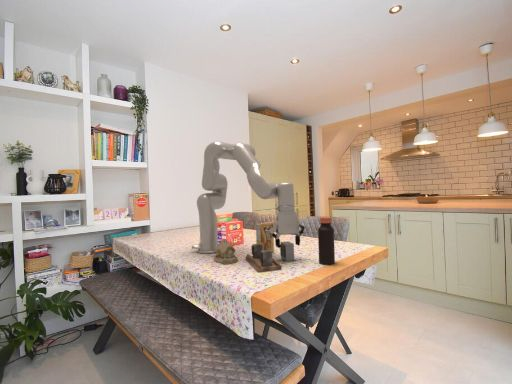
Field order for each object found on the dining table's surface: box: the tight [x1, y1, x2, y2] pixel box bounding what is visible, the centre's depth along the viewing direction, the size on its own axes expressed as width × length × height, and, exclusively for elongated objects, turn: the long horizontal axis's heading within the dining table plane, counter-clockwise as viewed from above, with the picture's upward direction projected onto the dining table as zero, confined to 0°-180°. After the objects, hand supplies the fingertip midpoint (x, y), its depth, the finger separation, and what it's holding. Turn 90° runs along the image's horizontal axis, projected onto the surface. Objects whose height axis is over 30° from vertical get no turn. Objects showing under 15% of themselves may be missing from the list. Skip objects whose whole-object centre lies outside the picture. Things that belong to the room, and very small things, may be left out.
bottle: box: [317, 216, 336, 266], centre depth 119 cm, size 7×7×20 cm
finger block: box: [279, 241, 295, 263], centre depth 126 cm, size 4×6×8 cm
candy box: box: [255, 221, 275, 253], centre depth 141 cm, size 9×4×15 cm, turn 129°
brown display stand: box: [245, 243, 282, 273], centre depth 120 cm, size 10×20×8 cm, turn 17°
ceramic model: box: [213, 238, 238, 265], centre depth 129 cm, size 14×11×10 cm
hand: (288, 246), depth 126 cm, fingers open, 9 cm apart
